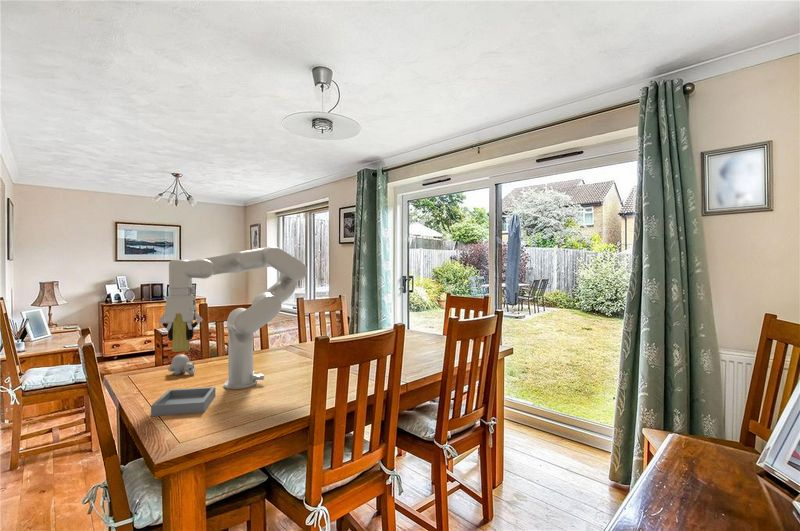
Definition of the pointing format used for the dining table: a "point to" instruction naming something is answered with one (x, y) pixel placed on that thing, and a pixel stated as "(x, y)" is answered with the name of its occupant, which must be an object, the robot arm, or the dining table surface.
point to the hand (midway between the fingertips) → (180, 339)
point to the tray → (183, 401)
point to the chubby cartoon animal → (181, 365)
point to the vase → (180, 335)
